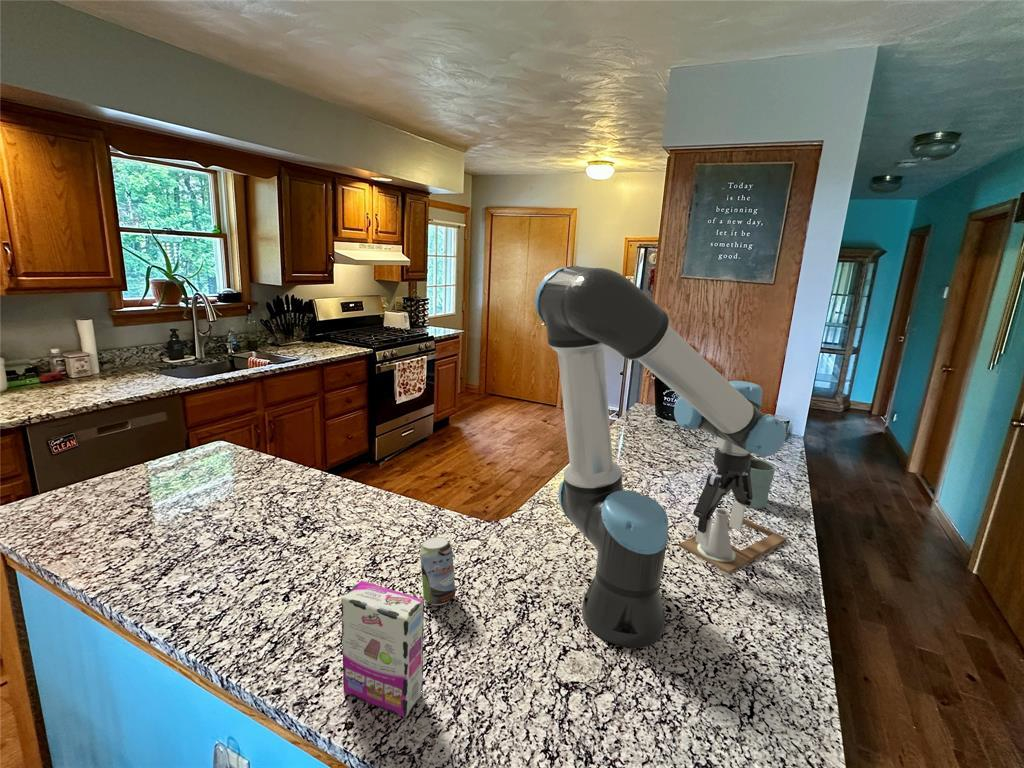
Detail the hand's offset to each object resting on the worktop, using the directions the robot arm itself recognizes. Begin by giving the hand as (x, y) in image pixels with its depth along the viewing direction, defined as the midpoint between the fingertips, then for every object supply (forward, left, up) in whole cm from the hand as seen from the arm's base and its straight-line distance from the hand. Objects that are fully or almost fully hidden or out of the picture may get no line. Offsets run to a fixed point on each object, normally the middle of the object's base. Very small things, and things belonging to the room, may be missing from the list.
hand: (718, 535), depth 116 cm
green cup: (+35, +12, -5) cm, 37 cm away
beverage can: (-63, +20, -5) cm, 66 cm away
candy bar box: (-80, +4, -5) cm, 80 cm away
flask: (0, 0, -4) cm, 4 cm away
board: (+8, 0, -5) cm, 10 cm away
